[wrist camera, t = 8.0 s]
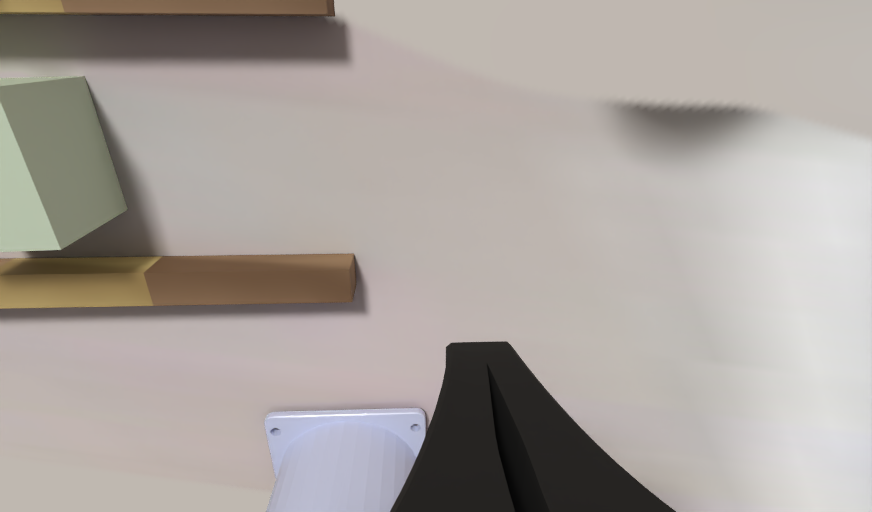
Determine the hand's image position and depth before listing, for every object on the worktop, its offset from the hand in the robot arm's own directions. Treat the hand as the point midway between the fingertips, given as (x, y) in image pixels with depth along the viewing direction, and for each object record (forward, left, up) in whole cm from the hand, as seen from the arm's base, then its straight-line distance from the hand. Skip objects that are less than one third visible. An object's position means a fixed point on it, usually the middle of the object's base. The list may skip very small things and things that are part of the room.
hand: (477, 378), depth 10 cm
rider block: (+3, +15, -10) cm, 19 cm away
